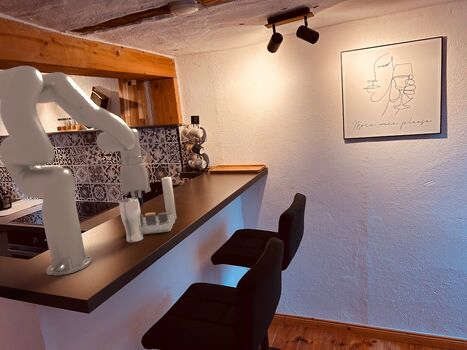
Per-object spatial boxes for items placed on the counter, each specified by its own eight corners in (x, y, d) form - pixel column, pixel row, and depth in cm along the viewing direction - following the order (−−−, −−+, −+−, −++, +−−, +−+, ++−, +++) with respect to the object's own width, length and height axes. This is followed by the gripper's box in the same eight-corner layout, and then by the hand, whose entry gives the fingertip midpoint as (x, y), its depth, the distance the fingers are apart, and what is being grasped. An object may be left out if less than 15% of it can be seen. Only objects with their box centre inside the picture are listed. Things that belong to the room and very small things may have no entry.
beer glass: (138, 234, 129) (132, 196, 127) (148, 238, 124) (142, 198, 122) (121, 240, 125) (115, 201, 122) (130, 244, 120) (124, 203, 117)
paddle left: (142, 222, 133) (141, 216, 133) (133, 223, 133) (132, 217, 133) (143, 220, 135) (142, 214, 135) (134, 221, 135) (133, 215, 135)
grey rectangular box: (167, 219, 133) (166, 213, 133) (158, 220, 133) (157, 214, 133) (168, 218, 135) (167, 212, 135) (159, 219, 135) (158, 213, 135)
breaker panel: (169, 231, 129) (168, 223, 129) (128, 235, 129) (127, 227, 129) (175, 221, 141) (174, 214, 140) (136, 225, 141) (135, 217, 141)
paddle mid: (155, 221, 133) (154, 213, 133) (146, 221, 133) (144, 214, 133) (156, 219, 135) (155, 212, 135) (147, 220, 135) (146, 213, 135)
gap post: (175, 220, 143) (170, 178, 140) (166, 220, 143) (160, 179, 140) (177, 217, 147) (171, 176, 144) (168, 218, 147) (162, 177, 144)
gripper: (109, 164, 127) (117, 211, 130) (149, 160, 127) (156, 207, 130) (116, 161, 134) (123, 206, 137) (153, 158, 134) (160, 202, 137)
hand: (139, 207), depth 134 cm, fingers closed
